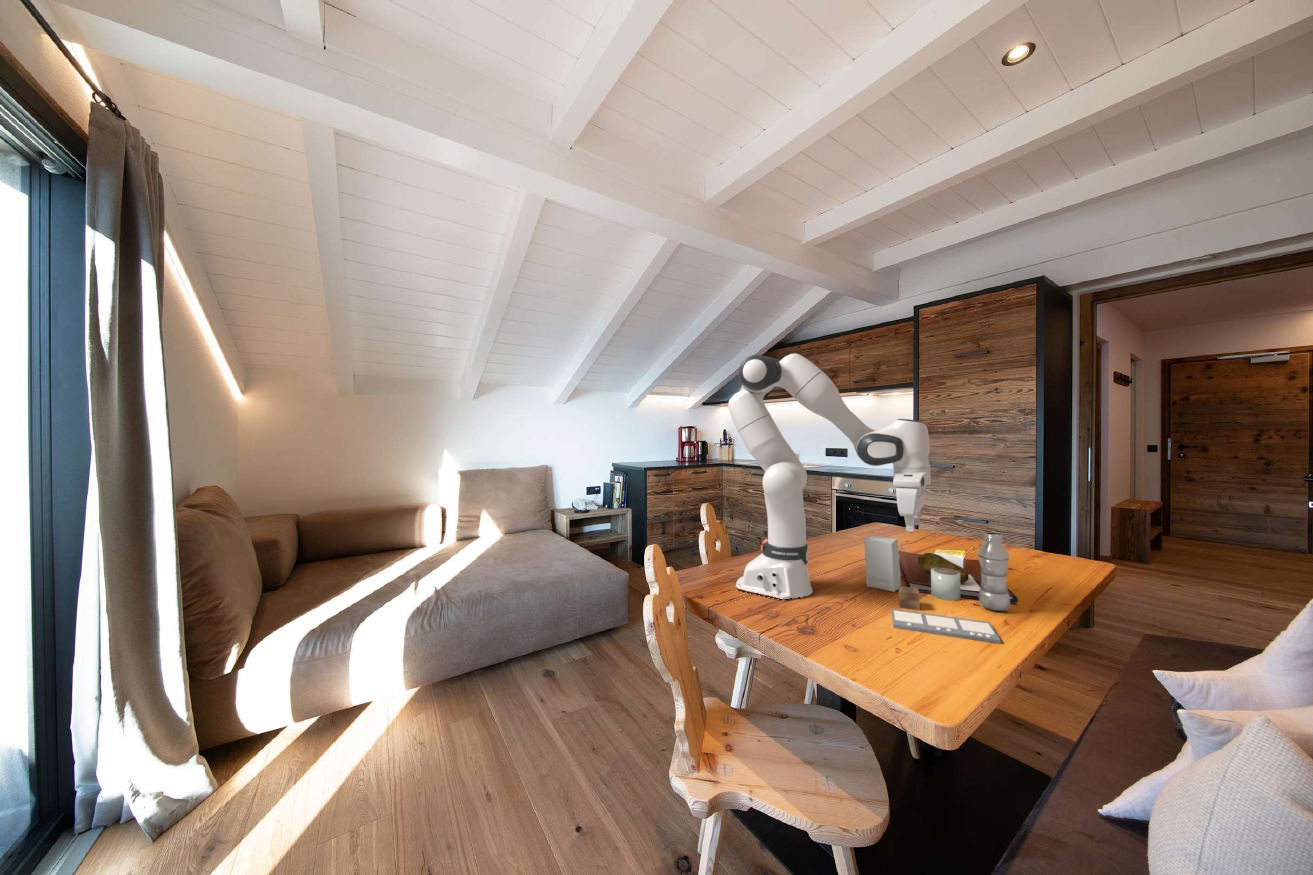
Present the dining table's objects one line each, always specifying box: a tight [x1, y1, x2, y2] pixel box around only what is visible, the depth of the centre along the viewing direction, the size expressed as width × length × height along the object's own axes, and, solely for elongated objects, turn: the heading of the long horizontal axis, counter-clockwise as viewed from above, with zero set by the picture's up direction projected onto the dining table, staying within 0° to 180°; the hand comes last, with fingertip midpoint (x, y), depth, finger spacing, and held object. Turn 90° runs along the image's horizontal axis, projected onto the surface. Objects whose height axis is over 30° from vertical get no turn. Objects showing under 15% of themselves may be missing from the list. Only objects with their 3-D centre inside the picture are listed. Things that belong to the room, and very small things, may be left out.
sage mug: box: [930, 568, 961, 602], centre depth 125 cm, size 7×7×7 cm
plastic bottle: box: [977, 531, 1011, 612], centre depth 115 cm, size 6×7×20 cm
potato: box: [917, 552, 970, 584], centre depth 138 cm, size 8×13×8 cm, turn 34°
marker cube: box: [898, 585, 921, 611], centre depth 119 cm, size 4×4×4 cm
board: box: [891, 608, 1002, 645], centre depth 106 cm, size 21×10×1 cm, turn 64°
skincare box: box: [863, 535, 902, 593], centre depth 133 cm, size 8×6×15 cm
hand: (913, 527), depth 121 cm, fingers open, 8 cm apart
